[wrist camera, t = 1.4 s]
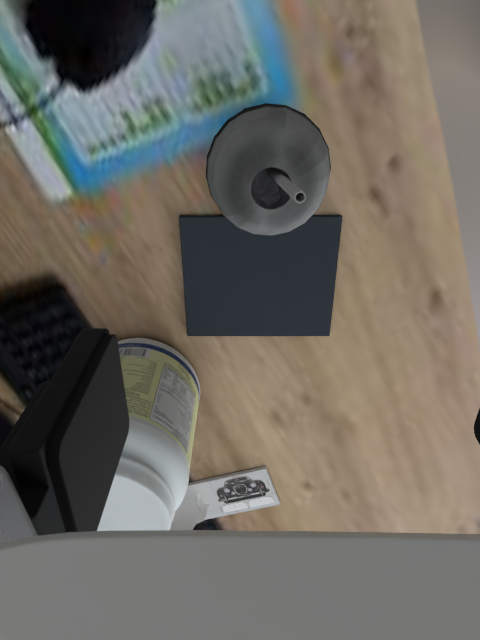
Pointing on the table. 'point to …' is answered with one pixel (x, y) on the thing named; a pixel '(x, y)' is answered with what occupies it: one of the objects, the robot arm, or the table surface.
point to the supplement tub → (153, 437)
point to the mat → (259, 277)
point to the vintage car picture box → (225, 497)
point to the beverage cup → (268, 169)
